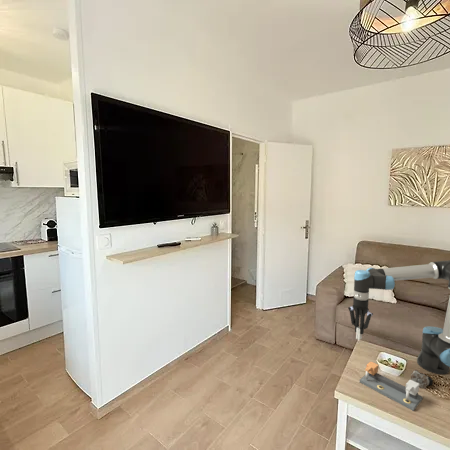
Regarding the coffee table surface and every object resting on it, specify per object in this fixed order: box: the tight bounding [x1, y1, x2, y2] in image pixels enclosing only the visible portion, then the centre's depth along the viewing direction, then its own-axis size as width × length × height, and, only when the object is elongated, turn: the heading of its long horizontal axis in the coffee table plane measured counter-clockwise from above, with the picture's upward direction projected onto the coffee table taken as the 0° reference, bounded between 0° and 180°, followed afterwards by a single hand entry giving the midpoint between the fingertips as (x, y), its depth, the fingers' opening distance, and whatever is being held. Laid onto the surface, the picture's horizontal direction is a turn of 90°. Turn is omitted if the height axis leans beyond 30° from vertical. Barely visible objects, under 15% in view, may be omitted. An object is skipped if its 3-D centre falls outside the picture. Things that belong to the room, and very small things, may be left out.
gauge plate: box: [359, 372, 424, 412], centre depth 139 cm, size 12×25×8 cm, turn 38°
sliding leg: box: [364, 361, 379, 379], centre depth 147 cm, size 9×4×5 cm, turn 128°
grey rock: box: [410, 369, 434, 390], centre depth 145 cm, size 7×11×10 cm
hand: (358, 338), depth 153 cm, fingers closed
